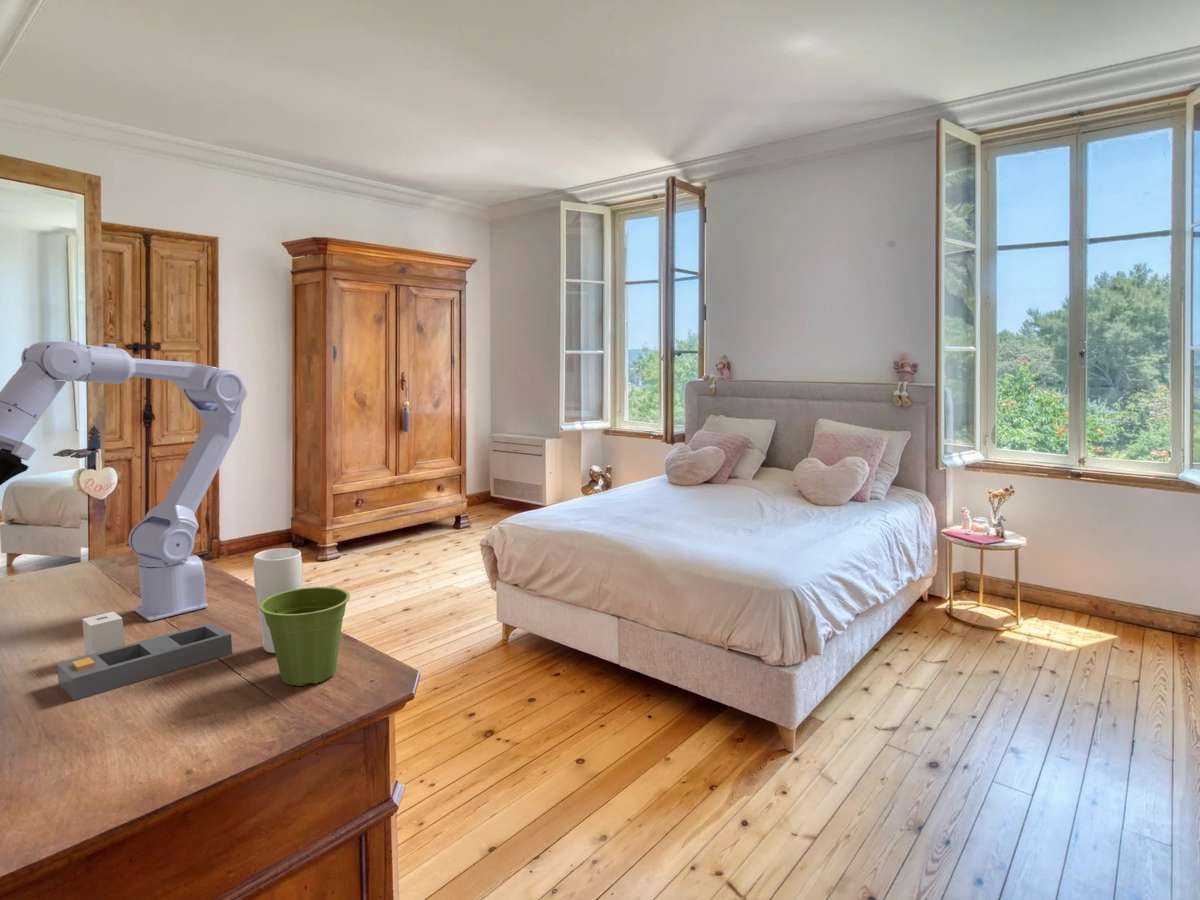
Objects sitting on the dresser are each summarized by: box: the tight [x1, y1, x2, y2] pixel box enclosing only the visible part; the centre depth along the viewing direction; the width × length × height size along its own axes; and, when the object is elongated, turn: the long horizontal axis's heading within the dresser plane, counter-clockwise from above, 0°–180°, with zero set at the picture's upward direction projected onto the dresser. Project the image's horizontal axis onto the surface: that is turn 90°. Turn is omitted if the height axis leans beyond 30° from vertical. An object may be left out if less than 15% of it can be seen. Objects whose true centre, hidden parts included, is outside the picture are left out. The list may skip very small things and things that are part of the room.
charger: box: [81, 611, 126, 656], centre depth 106 cm, size 4×4×6 cm
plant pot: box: [259, 586, 351, 687], centre depth 101 cm, size 12×12×11 cm
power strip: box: [56, 622, 233, 701], centre depth 103 cm, size 20×7×4 cm, turn 140°
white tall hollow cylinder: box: [253, 547, 304, 654], centre depth 110 cm, size 7×7×15 cm
